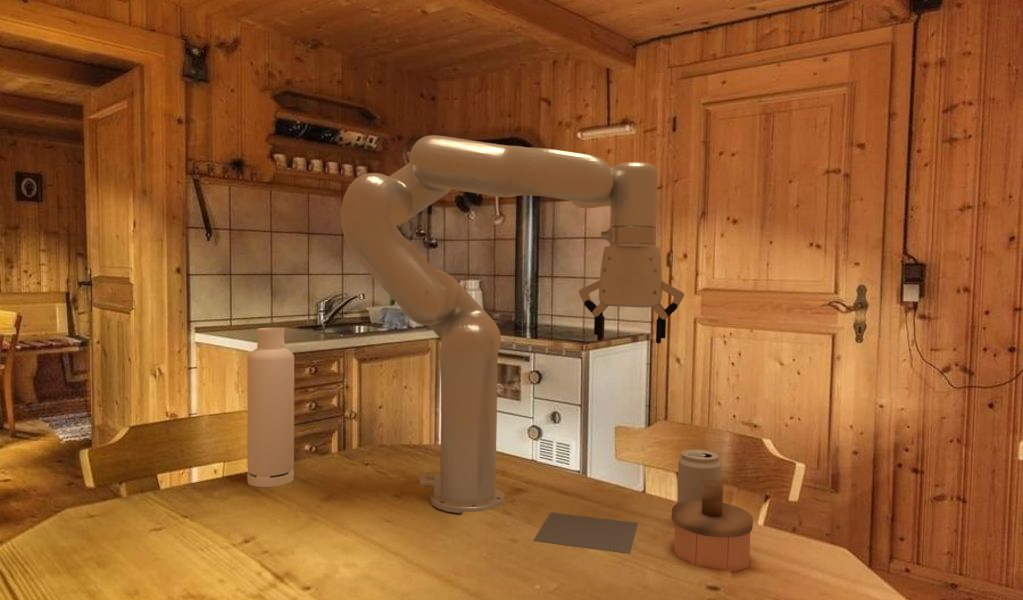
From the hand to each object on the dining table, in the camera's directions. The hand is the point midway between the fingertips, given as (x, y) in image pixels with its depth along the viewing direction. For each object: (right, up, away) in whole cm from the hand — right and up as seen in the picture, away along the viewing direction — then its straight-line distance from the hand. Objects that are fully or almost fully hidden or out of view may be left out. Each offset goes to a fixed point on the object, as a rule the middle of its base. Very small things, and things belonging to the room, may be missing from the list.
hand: (629, 341), depth 116 cm
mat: (-8, -29, -11) cm, 32 cm away
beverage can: (+9, -29, -7) cm, 32 cm away
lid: (+9, -25, -18) cm, 31 cm away
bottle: (-64, -27, +12) cm, 70 cm away
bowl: (+9, -30, -18) cm, 35 cm away
